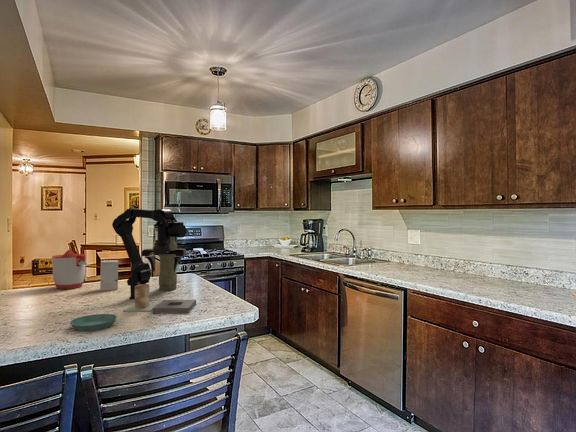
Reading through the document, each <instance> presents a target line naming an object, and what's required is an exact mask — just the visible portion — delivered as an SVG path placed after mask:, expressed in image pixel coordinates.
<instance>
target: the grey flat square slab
mask: <svg viewBox="0 0 576 432" xmlns="http://www.w3.org/2000/svg"><path fill="white" fill-rule="evenodd" d="M156 304H157V305H156V306H155V307H154V308H153V310H152V314H188V313H190V312H191V311H192V309H194V307H195V306H196V305H197V299H162V300H161V301H160V302H158V303H156Z"/></svg>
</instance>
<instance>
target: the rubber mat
mask: <svg viewBox="0 0 576 432" xmlns="http://www.w3.org/2000/svg"><path fill="white" fill-rule="evenodd" d="M157 304H158V303H149V306H148V307H147V308H135V303H132V304H130V306H128V307H126V308H125V309H123V312H124V313H129V312H130V313H131V312H132V313H135V312H137V313H139V312H140V313H141V312H143V313H144V312H153V308H154V307H155V306H156V305H157Z"/></svg>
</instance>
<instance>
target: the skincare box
mask: <svg viewBox="0 0 576 432" xmlns="http://www.w3.org/2000/svg"><path fill="white" fill-rule="evenodd" d="M99 283H100V285H99V290H100V292H104V291H105V292H106V291H115V290H118V289H119V286H118V285H119V260H117V259H116V260H101V261H100V282H99Z"/></svg>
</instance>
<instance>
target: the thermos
mask: <svg viewBox="0 0 576 432" xmlns="http://www.w3.org/2000/svg"><path fill="white" fill-rule="evenodd" d="M156 236H158V233H157V235H156ZM171 248H172V250H175V249H178V237H171ZM168 253H169V252H168ZM158 256H159V275H158V285H159V286H158V287H159V288H158V289H159V291H164V292H165V291H167V290H168V291H174V289H175V290H177V289H178V287H177V284H178V276H177V270H176V271H175V272H174V257H175V256H176V255H175V254H165V255H158ZM176 288H177V289H176ZM168 291H167V292H168Z"/></svg>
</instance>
